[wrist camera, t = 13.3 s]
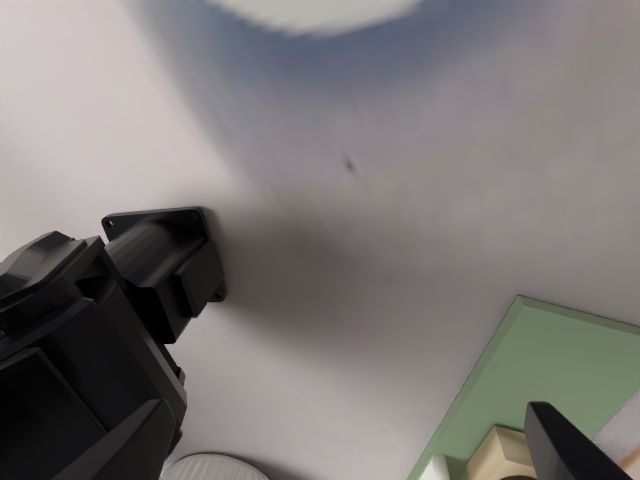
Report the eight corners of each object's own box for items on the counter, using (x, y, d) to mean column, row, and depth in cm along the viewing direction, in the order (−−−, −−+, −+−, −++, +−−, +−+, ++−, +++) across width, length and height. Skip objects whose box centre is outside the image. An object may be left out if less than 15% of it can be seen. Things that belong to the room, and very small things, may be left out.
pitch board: (399, 491, 32) (400, 504, 31) (517, 295, 22) (523, 305, 21) (501, 518, 32) (504, 532, 31) (665, 334, 22) (678, 346, 21)
